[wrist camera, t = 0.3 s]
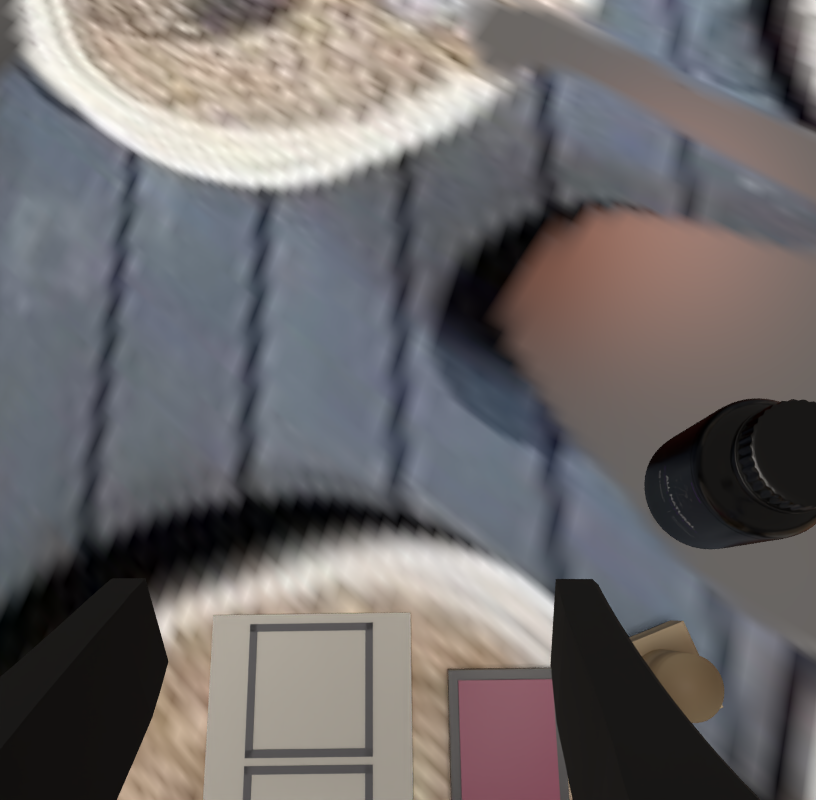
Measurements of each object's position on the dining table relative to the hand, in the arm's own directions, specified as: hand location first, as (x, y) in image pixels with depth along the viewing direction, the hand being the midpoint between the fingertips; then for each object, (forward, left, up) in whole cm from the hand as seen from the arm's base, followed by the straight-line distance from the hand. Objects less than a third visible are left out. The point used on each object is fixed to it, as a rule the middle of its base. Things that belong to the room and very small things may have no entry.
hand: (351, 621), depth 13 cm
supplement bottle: (+7, -18, -30) cm, 35 cm away
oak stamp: (-3, -14, -30) cm, 33 cm away
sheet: (-7, +5, -30) cm, 31 cm away
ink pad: (-7, -6, -30) cm, 31 cm away
